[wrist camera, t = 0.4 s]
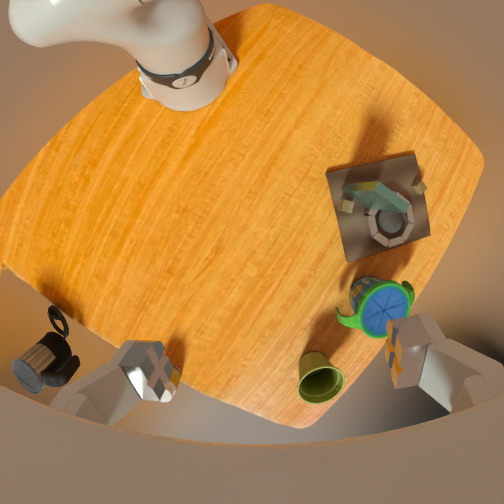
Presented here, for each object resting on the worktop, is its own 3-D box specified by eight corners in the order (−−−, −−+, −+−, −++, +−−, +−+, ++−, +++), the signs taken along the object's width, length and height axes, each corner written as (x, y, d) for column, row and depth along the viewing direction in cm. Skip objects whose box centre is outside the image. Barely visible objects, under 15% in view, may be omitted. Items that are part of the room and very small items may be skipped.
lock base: (325, 173, 50) (330, 172, 47) (412, 154, 49) (420, 153, 47) (346, 261, 53) (351, 264, 50) (428, 234, 53) (435, 236, 50)
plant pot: (341, 360, 58) (354, 382, 49) (309, 386, 59) (317, 411, 50) (315, 336, 56) (326, 357, 48) (281, 364, 57) (287, 389, 49)
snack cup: (331, 325, 56) (347, 350, 46) (325, 277, 54) (341, 295, 44) (398, 306, 56) (422, 325, 46) (395, 259, 54) (422, 272, 44)
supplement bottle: (166, 359, 57) (156, 381, 48) (185, 370, 57) (178, 394, 49) (157, 373, 57) (147, 395, 49) (175, 384, 58) (167, 407, 50)
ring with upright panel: (339, 185, 49) (372, 182, 36) (399, 171, 49) (442, 166, 35) (355, 255, 52) (389, 274, 38) (412, 236, 51) (454, 249, 38)
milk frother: (53, 363, 57) (24, 393, 43) (29, 308, 54) (-7, 331, 40) (92, 361, 57) (63, 396, 42) (66, 300, 54) (28, 326, 39)
